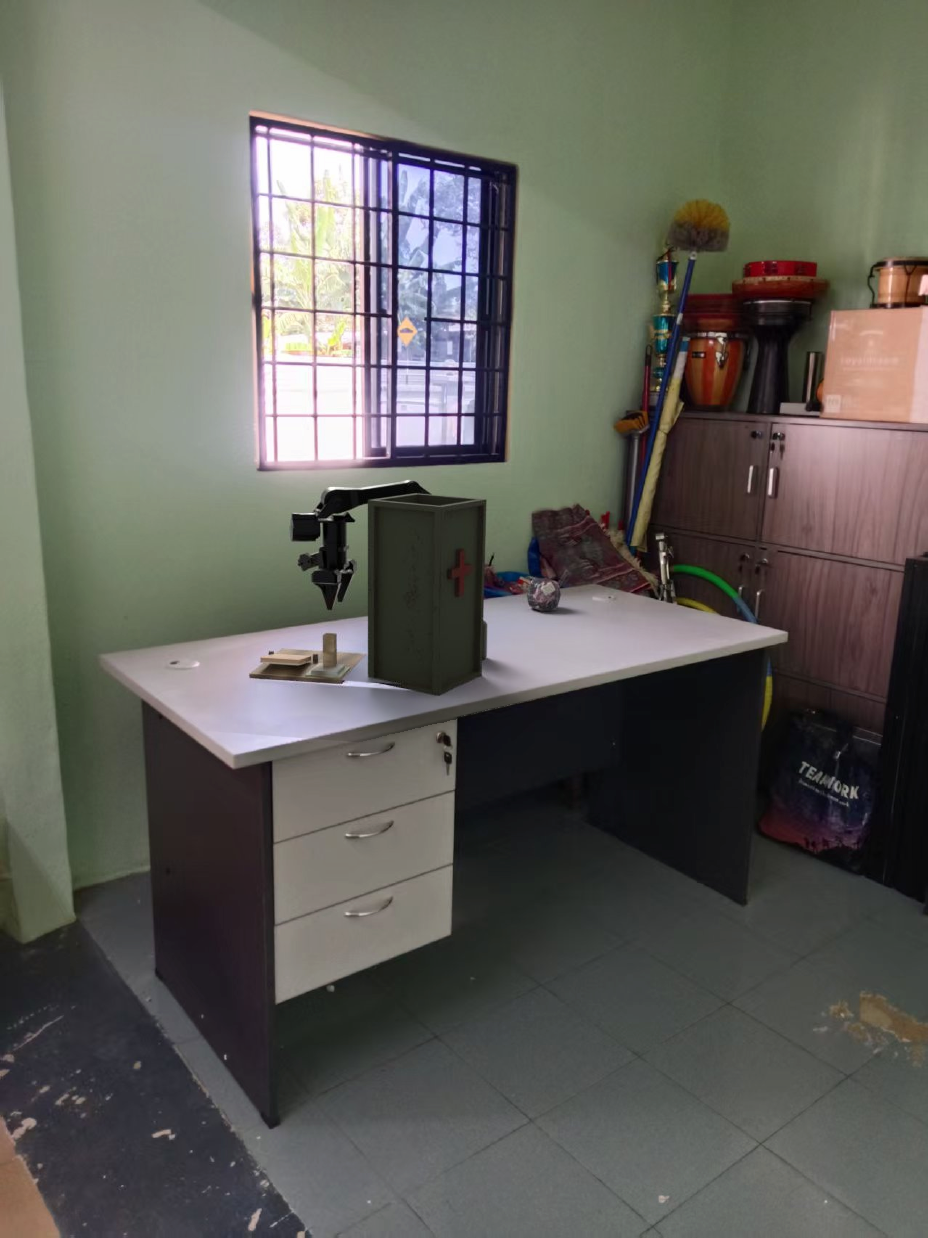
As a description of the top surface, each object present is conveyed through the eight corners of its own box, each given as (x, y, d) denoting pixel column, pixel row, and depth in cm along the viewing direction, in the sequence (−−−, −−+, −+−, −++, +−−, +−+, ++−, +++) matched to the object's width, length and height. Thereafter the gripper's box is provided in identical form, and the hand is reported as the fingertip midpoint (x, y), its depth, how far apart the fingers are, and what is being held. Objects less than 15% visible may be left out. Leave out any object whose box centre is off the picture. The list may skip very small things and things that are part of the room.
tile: (299, 659, 217) (299, 665, 217) (311, 655, 226) (311, 661, 226) (260, 657, 218) (260, 662, 218) (273, 653, 227) (273, 658, 227)
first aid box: (414, 662, 231) (415, 493, 222) (481, 675, 222) (486, 499, 213) (367, 681, 216) (367, 500, 207) (438, 695, 207) (441, 506, 198)
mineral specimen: (522, 606, 285) (525, 573, 287) (529, 613, 295) (532, 581, 297) (555, 608, 282) (558, 574, 284) (561, 615, 292) (564, 582, 294)
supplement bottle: (490, 656, 238) (491, 608, 236) (481, 663, 232) (483, 614, 229) (463, 653, 241) (464, 605, 238) (454, 660, 234) (455, 611, 232)
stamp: (344, 668, 221) (344, 633, 219) (337, 675, 215) (337, 640, 213) (319, 666, 222) (318, 632, 220) (311, 673, 216) (310, 638, 214)
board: (366, 657, 235) (366, 646, 234) (341, 684, 213) (341, 671, 213) (281, 652, 237) (281, 640, 237) (249, 678, 216) (249, 665, 216)
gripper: (313, 534, 241) (314, 596, 244) (289, 545, 223) (290, 612, 226) (357, 536, 239) (357, 598, 243) (336, 547, 221) (337, 615, 225)
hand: (335, 605), depth 234 cm, fingers open, 9 cm apart
